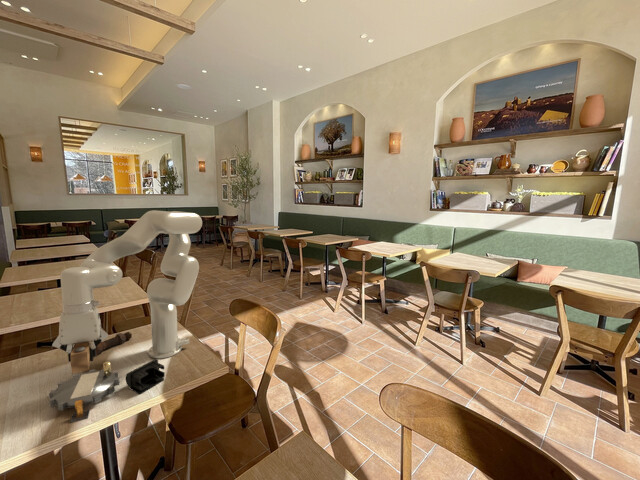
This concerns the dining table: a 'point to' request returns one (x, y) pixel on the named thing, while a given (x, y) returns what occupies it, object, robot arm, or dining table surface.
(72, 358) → the tan block with disc
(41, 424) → the dining table surface
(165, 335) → the robot arm
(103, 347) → the bolt
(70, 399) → the sprocket
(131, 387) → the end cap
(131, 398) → the dining table surface
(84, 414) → the sprocket stand
